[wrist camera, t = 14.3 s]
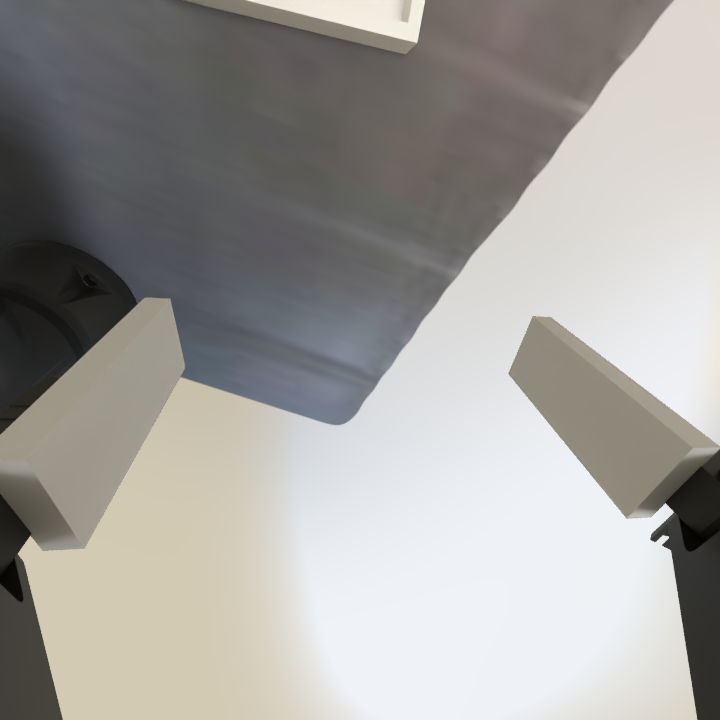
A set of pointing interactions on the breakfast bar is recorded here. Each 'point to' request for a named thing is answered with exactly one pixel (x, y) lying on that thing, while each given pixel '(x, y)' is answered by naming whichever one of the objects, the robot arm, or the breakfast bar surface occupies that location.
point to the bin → (339, 18)
